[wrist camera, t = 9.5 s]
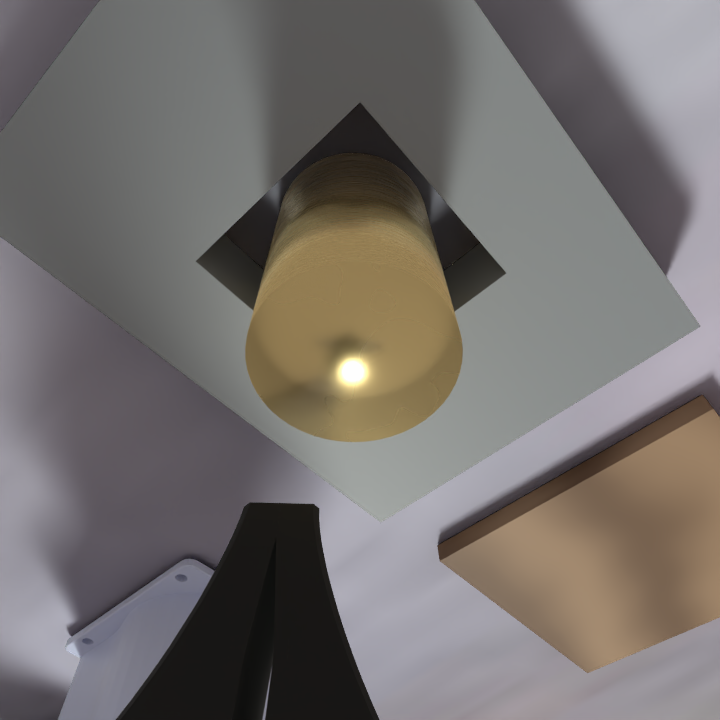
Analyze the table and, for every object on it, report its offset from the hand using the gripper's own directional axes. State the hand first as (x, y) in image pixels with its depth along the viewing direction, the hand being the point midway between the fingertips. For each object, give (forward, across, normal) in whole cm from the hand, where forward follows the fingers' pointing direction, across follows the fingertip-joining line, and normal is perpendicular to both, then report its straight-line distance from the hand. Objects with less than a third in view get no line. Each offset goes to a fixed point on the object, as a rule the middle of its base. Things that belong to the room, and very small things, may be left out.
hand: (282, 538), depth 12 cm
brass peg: (+9, -1, -3) cm, 10 cm away
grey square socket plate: (+9, -1, -3) cm, 10 cm away
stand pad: (+9, -14, +11) cm, 20 cm away
